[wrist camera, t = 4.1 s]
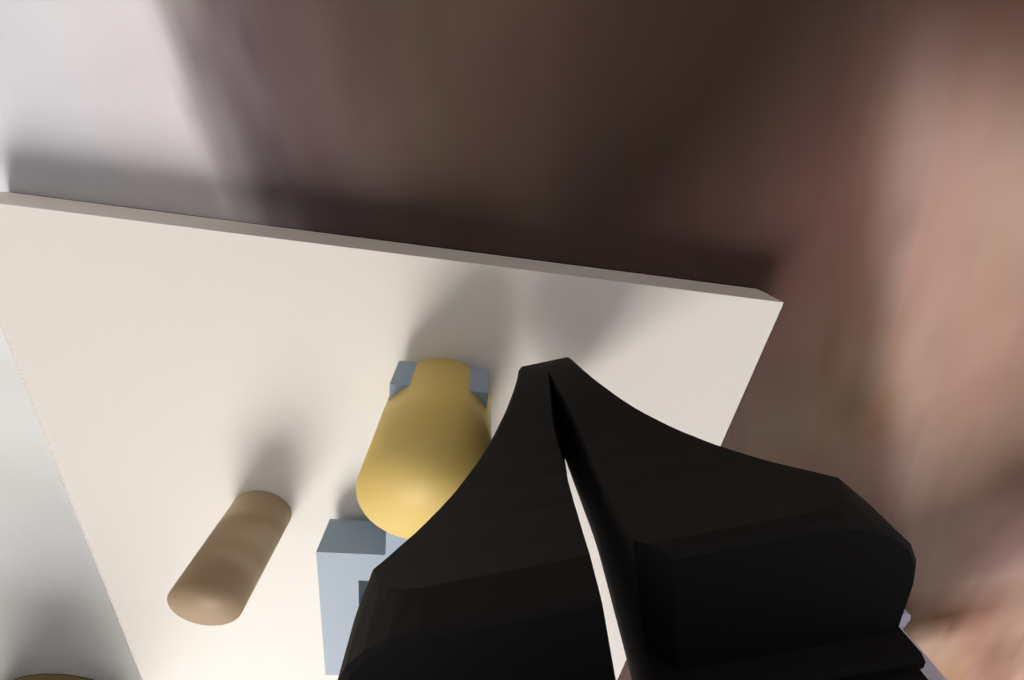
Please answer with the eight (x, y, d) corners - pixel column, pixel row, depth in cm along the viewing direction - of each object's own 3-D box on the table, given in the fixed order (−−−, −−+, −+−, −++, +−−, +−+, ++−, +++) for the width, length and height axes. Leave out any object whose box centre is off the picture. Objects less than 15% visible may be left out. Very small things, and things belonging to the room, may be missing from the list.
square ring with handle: (501, 642, 17) (504, 754, 14) (336, 638, 16) (300, 756, 13) (560, 369, 11) (589, 452, 8) (320, 346, 11) (254, 425, 8)
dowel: (304, 465, 14) (237, 582, 10) (307, 504, 15) (247, 626, 11) (248, 462, 14) (160, 579, 10) (254, 501, 15) (174, 625, 11)
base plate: (757, 288, 12) (783, 302, 11) (593, 691, 21) (599, 720, 20) (6, 191, 10) (-52, 197, 9) (177, 688, 19) (159, 720, 18)
